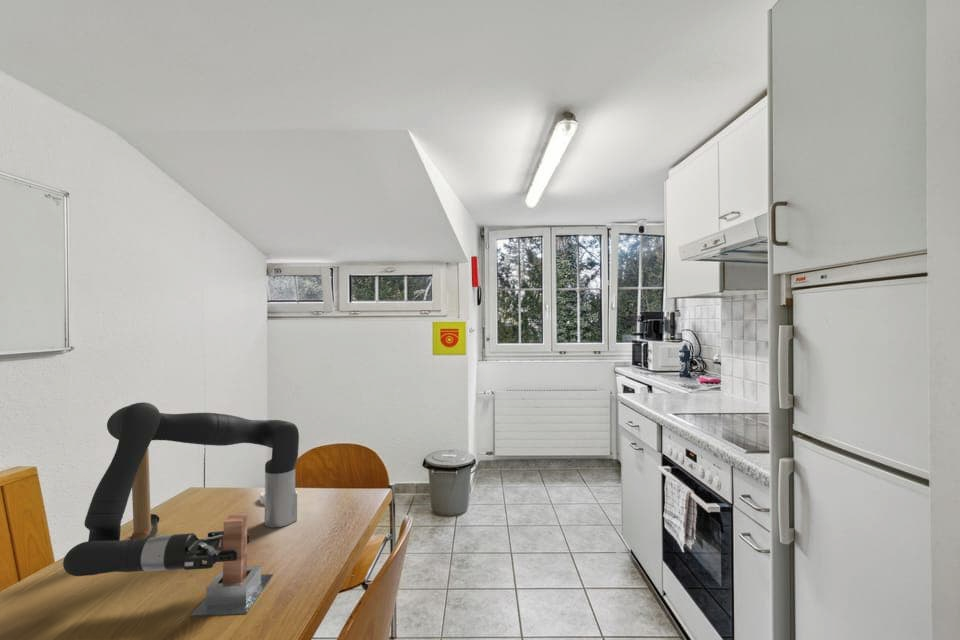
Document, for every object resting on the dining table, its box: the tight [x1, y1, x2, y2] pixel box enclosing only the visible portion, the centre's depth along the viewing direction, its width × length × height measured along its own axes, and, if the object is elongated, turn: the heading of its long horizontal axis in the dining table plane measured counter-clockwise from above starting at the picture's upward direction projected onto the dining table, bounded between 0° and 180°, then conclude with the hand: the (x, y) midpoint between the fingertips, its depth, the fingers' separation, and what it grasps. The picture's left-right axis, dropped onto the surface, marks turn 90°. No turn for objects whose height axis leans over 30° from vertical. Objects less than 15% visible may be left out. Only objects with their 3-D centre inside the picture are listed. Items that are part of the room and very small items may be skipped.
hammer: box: [129, 447, 160, 540], centre depth 133 cm, size 20×5×30 cm, turn 24°
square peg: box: [222, 513, 248, 583], centre depth 110 cm, size 4×4×18 cm
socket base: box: [190, 565, 274, 618], centre depth 110 cm, size 16×12×5 cm
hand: (243, 546), depth 110 cm, fingers open, 8 cm apart
